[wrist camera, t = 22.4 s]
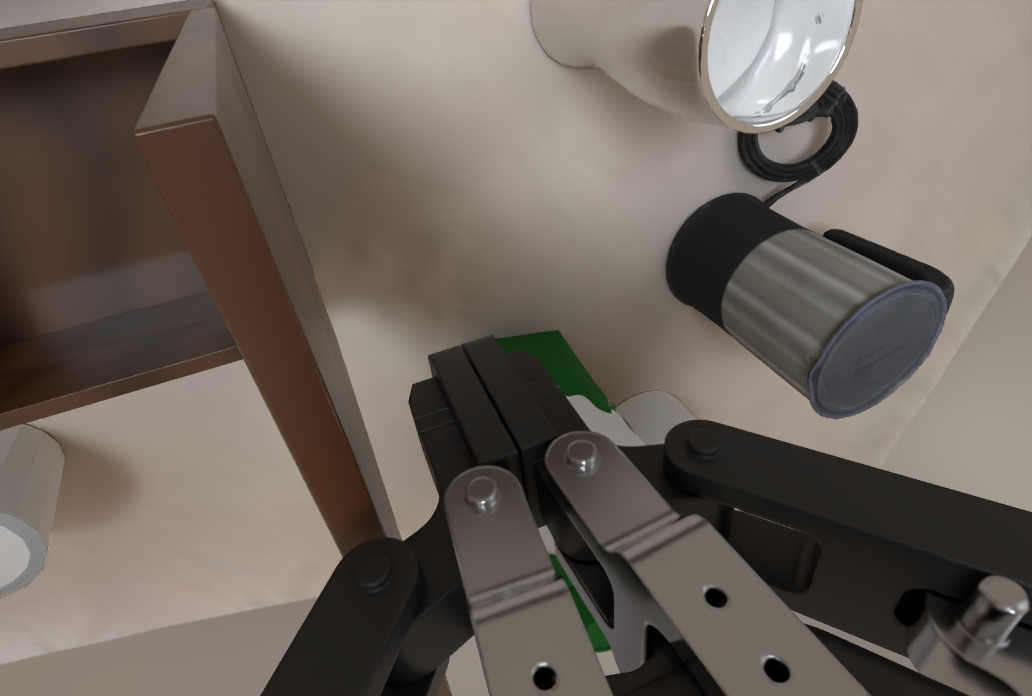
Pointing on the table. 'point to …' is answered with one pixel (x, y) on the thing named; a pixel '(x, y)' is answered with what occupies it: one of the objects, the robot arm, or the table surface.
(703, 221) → the milk frother
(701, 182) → the table surface
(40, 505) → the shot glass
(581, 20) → the beer glass
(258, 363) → the bin lid
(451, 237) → the table surface
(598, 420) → the milk carton
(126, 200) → the bin
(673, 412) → the pale grey rounded piece
